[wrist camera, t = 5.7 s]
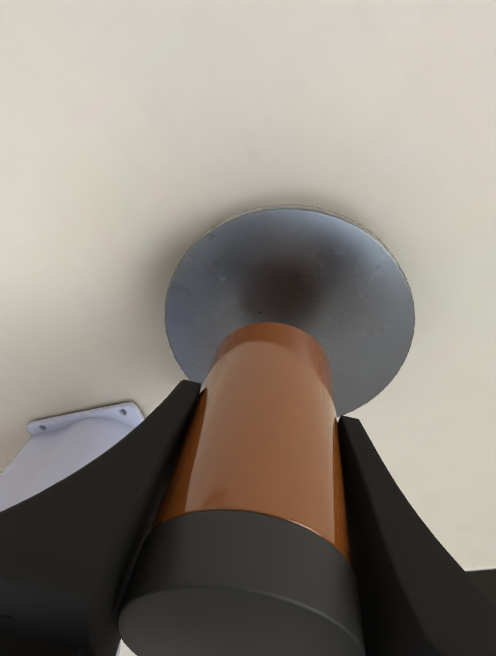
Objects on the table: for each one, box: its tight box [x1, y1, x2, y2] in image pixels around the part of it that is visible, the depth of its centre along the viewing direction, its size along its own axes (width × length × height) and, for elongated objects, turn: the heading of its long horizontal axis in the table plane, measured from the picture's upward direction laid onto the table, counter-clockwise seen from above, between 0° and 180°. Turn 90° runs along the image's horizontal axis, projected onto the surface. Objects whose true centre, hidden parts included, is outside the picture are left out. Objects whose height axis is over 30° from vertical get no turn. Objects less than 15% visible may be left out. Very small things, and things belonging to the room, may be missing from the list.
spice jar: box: [116, 322, 366, 656], centre depth 11 cm, size 5×5×9 cm
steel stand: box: [165, 204, 415, 417], centre depth 19 cm, size 12×12×3 cm
